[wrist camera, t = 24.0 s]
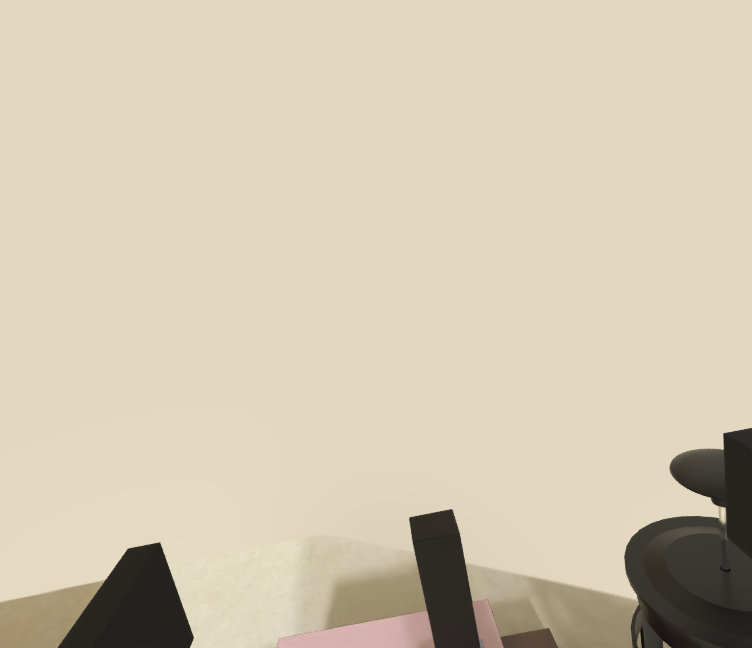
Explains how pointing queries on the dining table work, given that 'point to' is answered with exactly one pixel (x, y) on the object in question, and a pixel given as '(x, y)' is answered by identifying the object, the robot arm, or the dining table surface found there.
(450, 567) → the dark upright knife handle
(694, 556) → the french press
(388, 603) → the dining table surface
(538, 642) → the cake board
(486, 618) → the cake
